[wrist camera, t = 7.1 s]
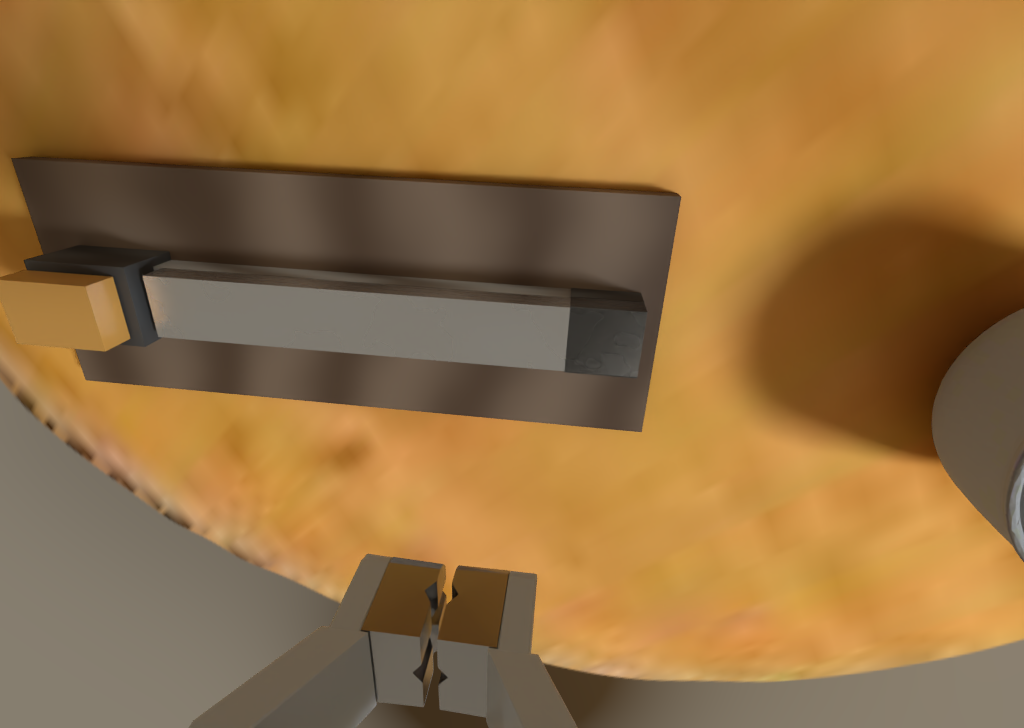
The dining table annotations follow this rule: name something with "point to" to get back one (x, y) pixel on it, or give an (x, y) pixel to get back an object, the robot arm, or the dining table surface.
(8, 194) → the dining table surface
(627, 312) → the tongs arm
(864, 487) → the dining table surface
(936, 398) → the teacup
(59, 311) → the tab
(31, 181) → the board
